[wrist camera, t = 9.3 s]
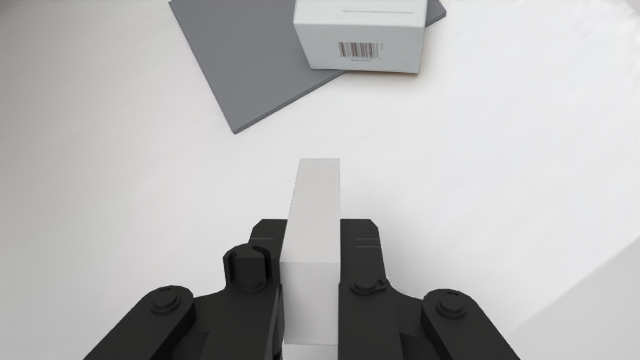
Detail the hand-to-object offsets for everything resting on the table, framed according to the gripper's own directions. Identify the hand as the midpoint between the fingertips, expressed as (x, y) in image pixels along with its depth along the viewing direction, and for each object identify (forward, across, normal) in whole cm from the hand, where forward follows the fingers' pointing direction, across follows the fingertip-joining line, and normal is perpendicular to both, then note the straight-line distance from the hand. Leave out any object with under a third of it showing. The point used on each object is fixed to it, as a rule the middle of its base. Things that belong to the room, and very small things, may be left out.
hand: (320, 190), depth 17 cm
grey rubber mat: (+21, -2, +5) cm, 22 cm away
